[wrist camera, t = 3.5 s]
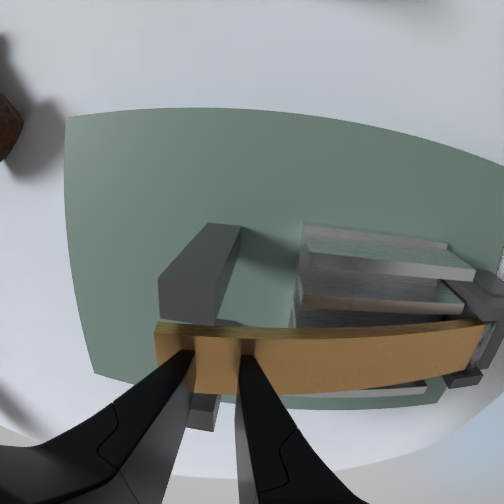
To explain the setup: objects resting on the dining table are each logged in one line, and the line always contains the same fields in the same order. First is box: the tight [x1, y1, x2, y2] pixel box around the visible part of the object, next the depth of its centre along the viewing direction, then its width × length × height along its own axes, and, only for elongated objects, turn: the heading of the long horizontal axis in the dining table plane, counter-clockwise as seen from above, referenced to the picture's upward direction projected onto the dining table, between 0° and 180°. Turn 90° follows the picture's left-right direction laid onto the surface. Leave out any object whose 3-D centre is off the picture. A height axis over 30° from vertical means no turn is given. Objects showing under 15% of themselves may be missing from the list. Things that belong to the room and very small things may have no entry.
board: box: [64, 108, 504, 410], centre depth 14 cm, size 24×16×1 cm, turn 85°
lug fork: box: [157, 223, 242, 432], centre depth 11 cm, size 2×6×6 cm, turn 175°
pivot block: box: [439, 269, 504, 389], centre depth 11 cm, size 4×4×4 cm
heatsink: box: [283, 221, 476, 398], centre depth 12 cm, size 7×7×3 cm
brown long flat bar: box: [154, 317, 498, 395], centre depth 9 cm, size 14×3×1 cm, turn 85°
